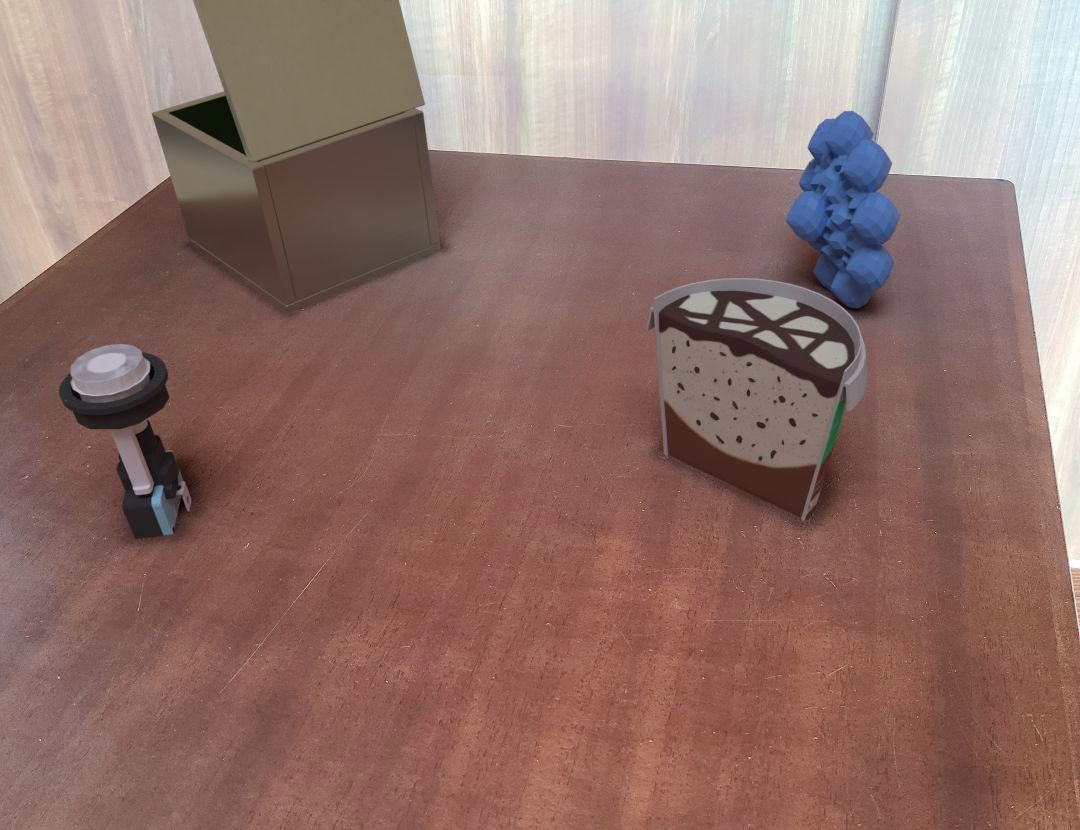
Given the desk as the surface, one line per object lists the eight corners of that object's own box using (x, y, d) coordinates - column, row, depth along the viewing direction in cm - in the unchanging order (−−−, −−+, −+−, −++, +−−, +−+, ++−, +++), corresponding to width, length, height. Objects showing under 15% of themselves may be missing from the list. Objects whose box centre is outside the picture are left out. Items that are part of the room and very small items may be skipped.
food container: (887, 480, 57) (922, 320, 51) (828, 537, 54) (856, 375, 48) (706, 401, 64) (715, 251, 57) (643, 448, 61) (645, 295, 54)
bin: (192, 248, 84) (150, 112, 77) (336, 195, 91) (310, 65, 83) (288, 316, 75) (252, 169, 68) (442, 252, 81) (423, 111, 74)
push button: (130, 476, 62) (69, 328, 55) (220, 465, 62) (171, 317, 55) (109, 550, 57) (40, 398, 50) (207, 538, 57) (151, 385, 50)
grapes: (747, 263, 77) (761, 97, 69) (833, 250, 78) (856, 84, 70) (809, 341, 68) (832, 162, 60) (905, 325, 69) (940, 147, 61)
